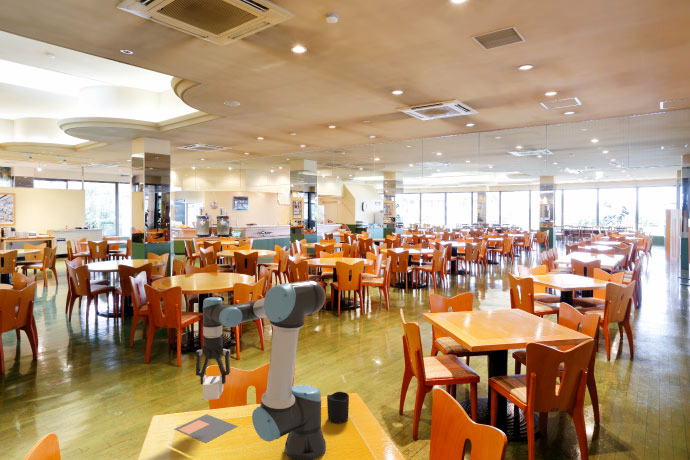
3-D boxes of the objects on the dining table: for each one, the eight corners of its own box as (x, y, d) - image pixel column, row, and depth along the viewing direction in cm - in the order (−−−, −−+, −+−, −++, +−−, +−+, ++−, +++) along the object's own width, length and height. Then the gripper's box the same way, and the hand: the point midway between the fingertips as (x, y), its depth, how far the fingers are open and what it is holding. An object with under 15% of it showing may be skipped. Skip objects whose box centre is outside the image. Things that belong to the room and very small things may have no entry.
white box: (218, 399, 168) (218, 383, 168) (202, 399, 168) (202, 384, 168) (223, 390, 177) (223, 375, 177) (208, 390, 177) (208, 375, 177)
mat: (238, 427, 173) (238, 425, 173) (205, 444, 160) (205, 442, 160) (206, 415, 184) (206, 413, 184) (174, 430, 171) (174, 428, 171)
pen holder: (349, 424, 176) (348, 400, 176) (326, 424, 176) (326, 400, 176) (348, 414, 185) (348, 391, 185) (327, 414, 185) (327, 391, 185)
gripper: (238, 332, 176) (238, 387, 177) (192, 333, 175) (192, 388, 176) (234, 337, 169) (234, 394, 169) (186, 338, 168) (186, 396, 168)
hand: (213, 391), depth 172 cm, fingers closed on white box, 6 cm apart
